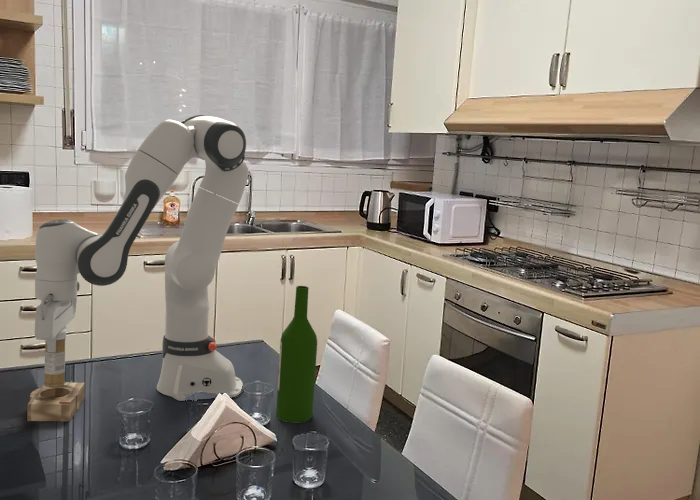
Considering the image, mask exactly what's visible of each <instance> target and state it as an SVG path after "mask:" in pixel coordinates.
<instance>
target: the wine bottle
mask: <svg viewBox="0 0 700 500" xmlns="http://www.w3.org/2000/svg"><path fill="white" fill-rule="evenodd" d="M309 289H310V288H309V286H306V285H297V286H296V287H295V297H294V298H295V301H294V313H293V317H292V320H290V322H289V323H288V325H287V327H286V328H285V329H284V330H283V332H282V333H281V337H280V343H279V356H278V357H279V358H278V359H279V360H278V375H277V377H278V378H277V395H276V409H275V411H276V413H275V415H276V417H278V418H280V419H281V420H284V421H287V422H303V423H305V422H304V421H307V420H309V419H310V418H311V419H312V418H313V411H314V410H313V409H314V400H315V399H314V395H315V382H316V381H315V380H316V367H317V355H318V352H317V351H318V338H317V337H318V336H317V334H316V332H315V329H313V327H312V324H311V323H310V320H308V304H309V302H308V301H309ZM278 418H277V419H278ZM280 419H279V420H280ZM311 419H310V420H311ZM281 420H280V421H281ZM310 420H309V421H310ZM284 421H283V422H284ZM287 422H286V423H287ZM307 422H308V421H307Z"/></svg>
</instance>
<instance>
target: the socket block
mask: <svg viewBox="0 0 700 500" xmlns="http://www.w3.org/2000/svg"><path fill="white" fill-rule="evenodd" d="M85 385H86V384H85V382H69V381H65V384H64V385H63V386H61V387H56V388H50V387H46V386H45V385H44V384H43V385H42V387H40V388H36V389H34V390H33V391H32V392H31V393H30V395H29V401H28V403H27V404H26V405H27V406H26V407H27V408H26V409H27V410H26V411H27V413H26V415H27V417H26V418H27V422H70V421H71V419H72V418H73V416H74V415H75V414H76V413H77V411H78V410H79V409H80V406H81V404H82V403H83V402H84V400H85V395H86V394H85V393H86V392H85V391H86V390H85V389H86V388H85V387H86V386H85Z"/></svg>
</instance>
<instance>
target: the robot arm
mask: <svg viewBox="0 0 700 500" xmlns="http://www.w3.org/2000/svg"><path fill="white" fill-rule="evenodd" d="M246 149H247V139H246V135H245V132H244V131H243V130H242V129H241V127H240V126H238V125H237V124H236V123H234V122H232V121H229V120H225V119H223V118H220V117H217V116H208V115H203V114H197V115H192V116H189V117H188V118H186V119H184V120H183V121H181V122H180V121H177V120H173V119H165V120H162V121H161V122H160V123H159V124H158V125H157V126H156V127H154V129H153V130H152V131H151V132H150V133H149V134H148V136H147V137H145V139H144V140H143V142H142V143H141V144H140V146H139V147H138V148H137V150H136V152H135V153H134V155H133V157H132V158H131V160H130V162H129V165H128V167H127V169H126V171H125V173H124V181H125V192H124V193H125V194H124V198H123V200H122V203H121V205H120V206H119V209H118V210H117V212H116V214H115V215H114V217H113V218H112V220H111V221H110V223H109V224H108V227H107V229H105V231H104V233H103V234H102V233H98V232H94V231H91V230H89V229H87V228H85V227H83V226H81V225H79V224H78V223H77V222H75V221H74V220H72V219H56V220H50V221H47V222H45V223H43V224H41V225H40V226H39V228H38V229H37V233H36V237H35V248H34V249H35V253H34V259H35V263H36V272H35V276H34V297H35V299H36V300H39V301H40V304H38V306H37V307H36V310H35V318H34V339H35V340H39V341H45V340H46V343H47V351H48V352H55V351H56V350H57V343H56V337H57V334H58V333H59V332H60V331H61V330H62V329H65V330H66V331H67V325H68V324H69V323H70V322H71V321H72V320H73V319H74V318H75V315H76V311H77V301H78V299H77V298H78V292H79V291H80V287H81V286H80V285H81V284H80V282H79V281H78V274H80V276H81V278H83V280H85V281H86V282H88V283H89V284H92V285H94V286H99V287H103V286H110V285H112V284H114V283H117V282H118V281H119V280H120V279H121V278H122V277H123V275H124V274H125V272H126V270H127V265H128V259H129V253H130V250H131V247H132V245H133V243H134V242H135V240H136V238H137V237H138V235H139V233H140V232H141V230H142V228H143V226H144V225H145V224H146V223H147V222H146V221H147V220H148V218H149V217H150V214H151V213H152V211H154V209H155V208H156V206H157V205H158V203H159V202H160V200H161V199H162V198H163V197H164V195H166V193H167V192H168V191H169V190H170V188H171V187H172V185H173V184H174V183H175V181H176V180H177V178H178V177H179V175H180V174H181V172H182V171H183V169H184V167H185V165H186V164H187V163H189V161H190V160H192V159H193V158H195V157H196V158H199V159H201V160H203V161H204V162H205V170H204V171H205V172H204V175H203V178H202V180H201V182H200V184H199V187H198V188H197V191H196V193H195V194H194V195H195V196H194V198H193V201H192V203H191V204H190V207H189V209H188V212H187V214H186V217H185V221H184V224H183V228H182V231H181V234H180V237H179V240H178V241H176V242H174V243H172V244H171V245H170V246H169V248H168V249H167V251H166V253H165V255H164V289H165V290H164V294H165V295H164V296H165V297H164V298H165V314H164V315H165V318H164V319H165V322H164V335H163V337H162V344H161V354H162V364H161V371H160V375H159V379H158V383H157V385H156V390H157V392H158V393H161V394H163V395H165V396H168V397H171V398H173V399H174V400H175V401H176V400H177V401H181V402H182V401H185V398H186V396H187V395H188V394H191V393H195V392H198V391H204V392H207V393H216V394H219V393H227V394H228V395H229V396H230V397H231V398H230V399H232V397H235V396H237V395H239V394H240V393H241V389H242V386H243V387H244V383H243V380H241V378H239V377H237V376H236V372H235V367H234V365H233V363H232V362H231V360H229V359H228V358H226V357H225V356H224V355H222V354H221V353H220V352H219V351H217V350H216V349H217V343H216V339H215V337H214V336H210V335H209V316H210V306H209V305H210V304H209V303H210V302H209V293H208V292H209V291H208V286H209V285H210V284H211V283H212V281H213V279H214V278H215V273H216V269H217V266H218V264H219V261H220V257H221V253H222V250H223V247H224V243H225V240H226V236H227V233H228V230H229V228H230V225H231V223H232V221H233V219H234V216H235V214H236V211H238V207H239V204H240V202H241V200H242V197H243V194H244V192H245V189H246V185H247V180H248V176H249V167H248V166H247V164H246V163H245V162H244V161H245V158H246V157H245V154H246ZM241 394H242V393H241ZM241 394H240V395H241ZM240 395H239V396H240ZM237 397H238V396H237ZM235 398H236V397H235Z"/></svg>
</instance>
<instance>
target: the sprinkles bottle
mask: <svg viewBox="0 0 700 500" xmlns="http://www.w3.org/2000/svg"><path fill="white" fill-rule="evenodd" d="M66 338H67V329H66V330H65V329H62V330H61V331H60V332H59V333H58V334H57V337H56V343H57V350H56V351H55V352H48V351H47V343H46V340H44V341H45V345H44V383H43V385H45V386H46V387H50V388H56V387H61V386H63V385H64V384H65V382H66V380H65V372H66Z"/></svg>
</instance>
